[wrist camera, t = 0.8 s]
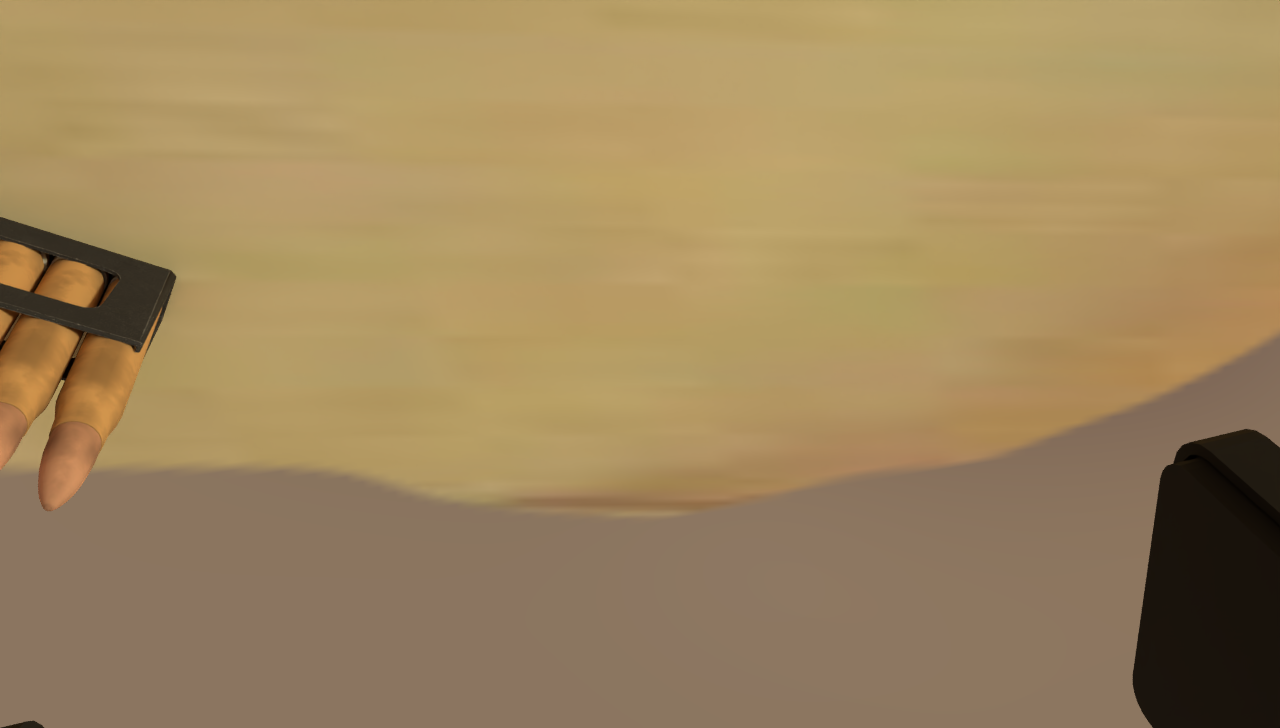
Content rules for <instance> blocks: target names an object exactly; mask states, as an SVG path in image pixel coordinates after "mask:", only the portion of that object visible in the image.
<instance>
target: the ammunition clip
mask: <svg viewBox="0 0 1280 728" xmlns="http://www.w3.org/2000/svg"><path fill="white" fill-rule="evenodd" d="M175 280H176V276H175V274H174V273H173V272H172V271H171V270H168V269H165V268H162V267H158V266H155V265H152V264H149V263H146V262H142V261H139V260H136V259H133V258H130V257H126V256H123V255H120V254H117V253H114V252H111V251H107V250H104V249H101V248H98V247H95V246H91V245H88V244H85V243H82V242H79V241H75V240H72V239H69V238H66V237H63V236H59V235H56V234H53V233H50V232H47V231H43V230H40V229H37V228H34V227H31V226H28V225H24V224H21V223H18V222H15V221H12V220H8V219H5V218H2V217H0V470H1V469H2V468H3V467H4V466H5V464H6V463H7V462H8V460H9V459H10V458H11V456H12V455H13V453H14V452H15V450H16V448H17V447H18V445H19V443H20V441H21V439H22V437H23V436H25V434H26V433H27V431H28V429H29V427H30V426H31V424H32V422H33V421H34V420H35V419H36V418H37V417H38V416H39V415H40V414H41V413H42V412H43V411H44V410H45V409H46V407H47V406H48V404H49V402H50V400H51V399H52V397H53V395H54V393H55V391H56V389H57V387H58V385H59V383H60V381H61V380H65V382H64V384H63V387H62V389H61V391H60V393H59V395H58V398H57V401H56V406H55V420H54V422H53V425H52V428H51V431H50V434H49V440H48V442H47V444H46V447H45V449H44V452H43V455H42V459H41V464H40V468H39V479H38V490H39V491H38V493H39V499H40V502H41V504H42V506H43V508H44V509H45V510H46V511H53V510H55V509H57V508H59V507H60V506H62V505H63V504H64V503H65V502H67V501H68V500H69V499H70V498H71V497H72V496H73V495H74V494H75V493H76V492H77V490H78V489H79V488H80V487H81V485H82V484H83V482H84V481H85V479H86V477H87V476H88V474H89V472H90V471H91V469H92V467H93V465H94V463H95V461H96V459H97V456H98V454H99V452H100V451H101V449H102V447H103V445H104V443H105V441H106V439H107V437H108V436H109V434H110V433H111V432H112V431H113V430H114V428H115V427H116V426H117V424H118V422H119V421H120V419H121V417H122V415H123V412H124V409H125V407H126V404H127V401H128V399H129V396H130V393H131V391H132V388H133V385H134V383H135V380H136V377H137V374H138V372H139V369H140V366H141V364H142V361H143V359H144V357H145V355H146V352H147V350H148V348H149V346H150V344H151V342H152V340H153V338H154V336H155V334H156V332H157V330H158V328H159V326H160V324H161V322H162V319H163V316H164V313H165V310H166V307H167V304H168V301H169V298H170V295H171V292H172V289H173V286H174V283H175ZM20 313H21V316H20V318H19V320H18V321H17V323H16V325H15V327H14V328H13V330H12V332H11V333H10V335H9V337H8V339H7V340H6V341H5V340H4V338H5V336H6V335H7V333H8V332H9V330H10V328H11V327H12V325H13V323H14V322H15V320H16V319H17V317H18V315H19V314H20ZM84 332H87V334H86V336H85V338H84V340H83V342H82V345H81V347H80V349H79V351H78V353H77V356H76V358H72V356H73V354H74V352H75V350H76V348H77V346H78V344H79V342H80V339H81V337H82V335H83V333H84Z"/></svg>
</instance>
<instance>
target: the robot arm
mask: <svg viewBox="0 0 1280 728" xmlns="http://www.w3.org/2000/svg"><path fill="white" fill-rule="evenodd" d="M1133 688H1134V693H1135V696H1136V699H1137V702H1138V704H1139V706H1140V708H1141V710H1142V712H1143V714H1144V715H1145V717H1146V719H1147V720H1148V722H1149V723H1150V724H1151V725H1152V727H1153V728H1280V447H1278V446H1277V445H1276V444H1275V443H1273V442H1272V441H1271V440H1270V439H1268V438H1267V437H1266V436H1264V435H1262V434H1261V433H1259V432H1257V431H1254V430H1248V429H1244V430H1240V431H1236V432H1232V433H1228V434H1223V435H1219V436H1215V437H1211V438H1207V439H1203V440H1198V441H1194V442H1190V443H1187V444H1184V445H1182V446H1181V448H1180V449H1179V450H1178V452H1177V453H1176V457H1175V460H1174V464H1171V465H1168V466H1166V467H1165V469H1164V470H1163V472H1162V475H1161V478H1160V485H1159V492H1158V499H1157V506H1156V513H1155V520H1154V528H1153V534H1152V542H1151V549H1150V556H1149V563H1148V570H1147V578H1146V584H1145V592H1144V599H1143V607H1142V614H1141V620H1140V628H1139V634H1138V641H1137V649H1136V656H1135V663H1134V670H1133ZM2 728H44V727H43V726H42V725H40V724H39V723H37V722H35V721H28V722H23V723H19V724H14V725H10V726H6V727H2Z"/></svg>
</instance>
